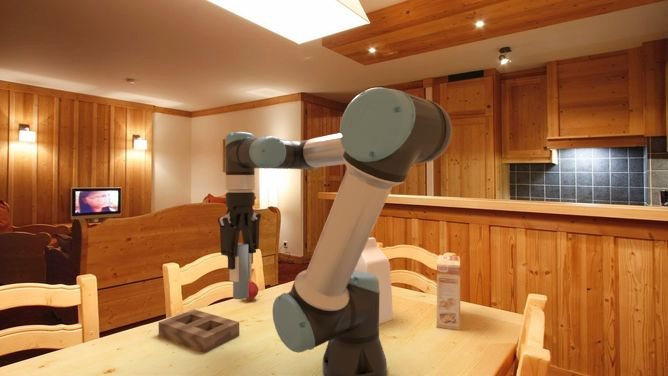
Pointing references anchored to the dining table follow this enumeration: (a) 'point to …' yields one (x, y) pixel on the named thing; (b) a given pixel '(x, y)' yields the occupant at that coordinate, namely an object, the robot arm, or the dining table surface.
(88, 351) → the dining table surface
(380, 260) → the milk
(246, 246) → the peg
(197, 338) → the socket board
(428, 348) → the dining table surface
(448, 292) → the coffeecake box
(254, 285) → the onion
